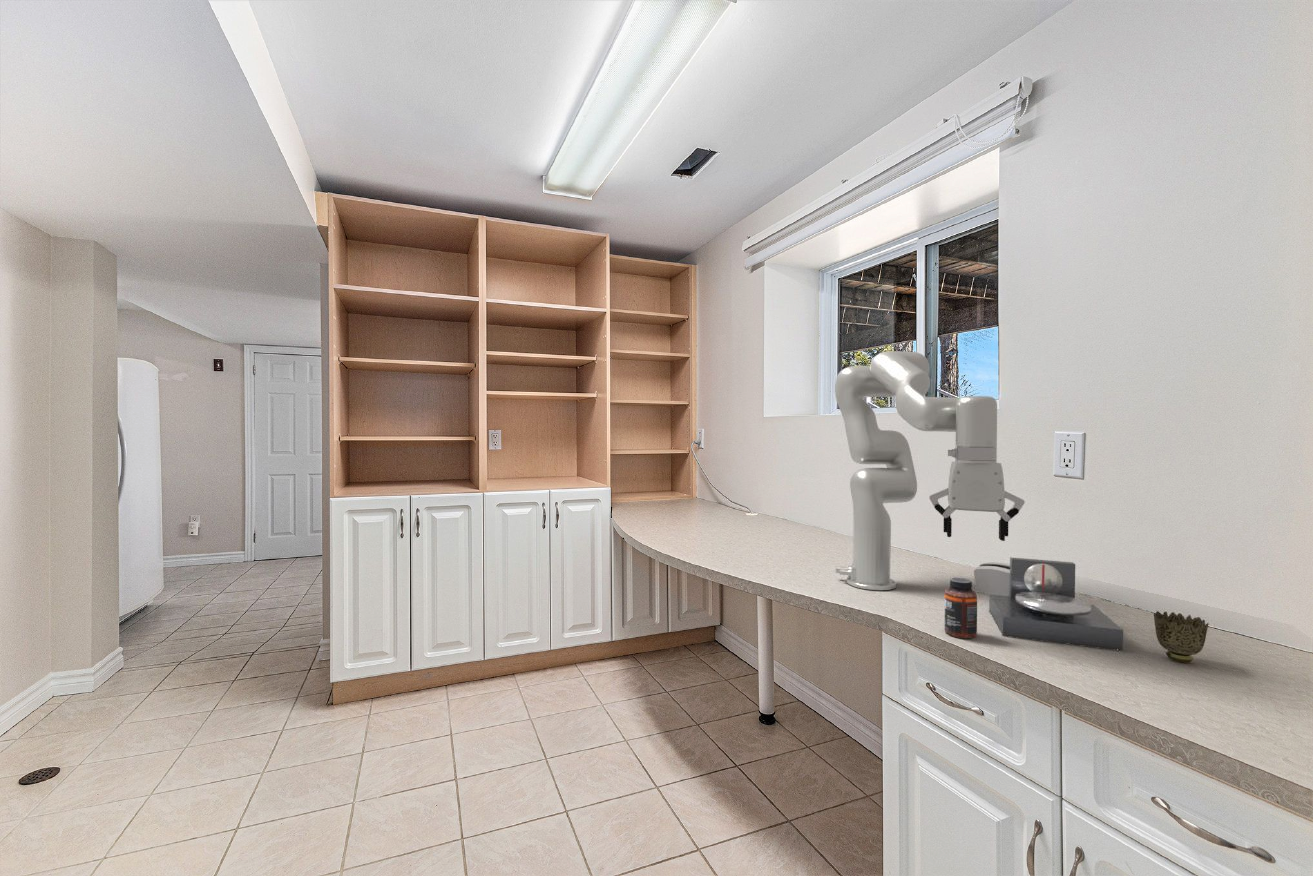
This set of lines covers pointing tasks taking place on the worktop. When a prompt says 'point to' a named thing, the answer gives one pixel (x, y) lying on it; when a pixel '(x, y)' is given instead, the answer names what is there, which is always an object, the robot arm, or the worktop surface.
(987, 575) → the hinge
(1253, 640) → the worktop surface
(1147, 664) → the worktop surface
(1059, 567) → the dial scale
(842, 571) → the robot arm
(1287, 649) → the worktop surface
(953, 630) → the supplement bottle
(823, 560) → the worktop surface
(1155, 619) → the cup
